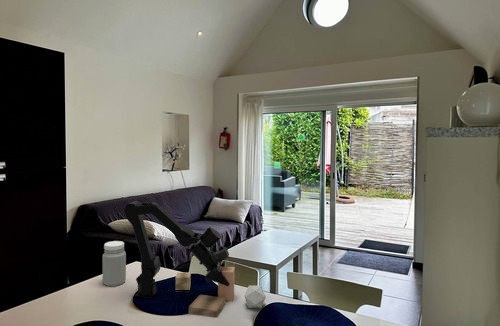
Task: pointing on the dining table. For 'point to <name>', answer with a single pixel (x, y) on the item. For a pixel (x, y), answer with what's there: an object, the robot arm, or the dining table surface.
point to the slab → (207, 305)
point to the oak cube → (183, 281)
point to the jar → (114, 263)
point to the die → (255, 296)
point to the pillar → (229, 290)
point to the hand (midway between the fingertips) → (229, 282)
